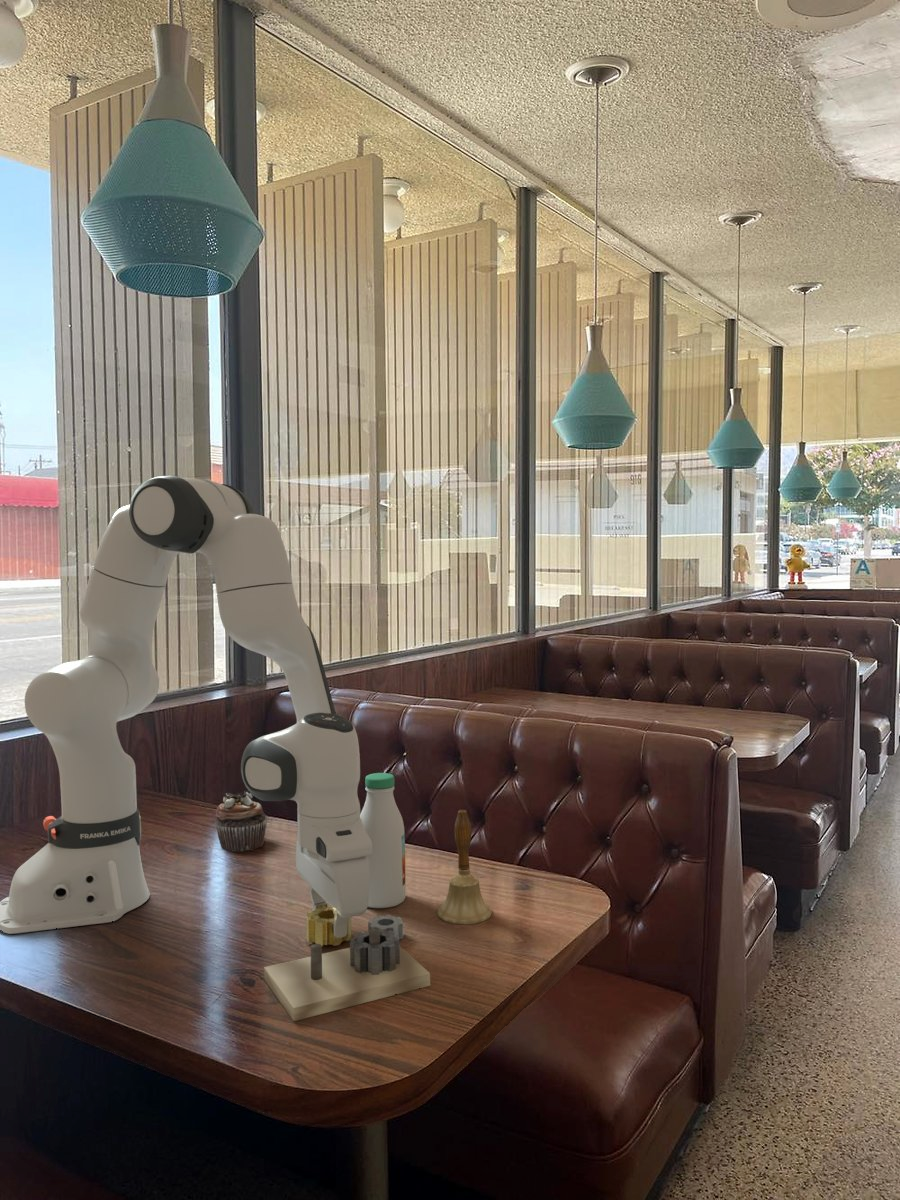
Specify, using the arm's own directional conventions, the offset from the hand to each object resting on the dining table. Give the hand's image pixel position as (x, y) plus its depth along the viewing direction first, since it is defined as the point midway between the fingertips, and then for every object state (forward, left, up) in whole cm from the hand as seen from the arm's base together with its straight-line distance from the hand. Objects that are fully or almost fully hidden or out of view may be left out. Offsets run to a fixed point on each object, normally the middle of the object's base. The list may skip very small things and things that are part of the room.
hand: (329, 925), depth 128 cm
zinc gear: (+7, -3, -2) cm, 8 cm away
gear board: (-3, -13, -2) cm, 14 cm away
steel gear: (+1, -13, -1) cm, 13 cm away
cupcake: (0, +48, -2) cm, 48 cm away
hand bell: (+21, -1, -2) cm, 22 cm away
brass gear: (0, 0, -2) cm, 2 cm away
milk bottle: (+12, +10, -2) cm, 16 cm away
